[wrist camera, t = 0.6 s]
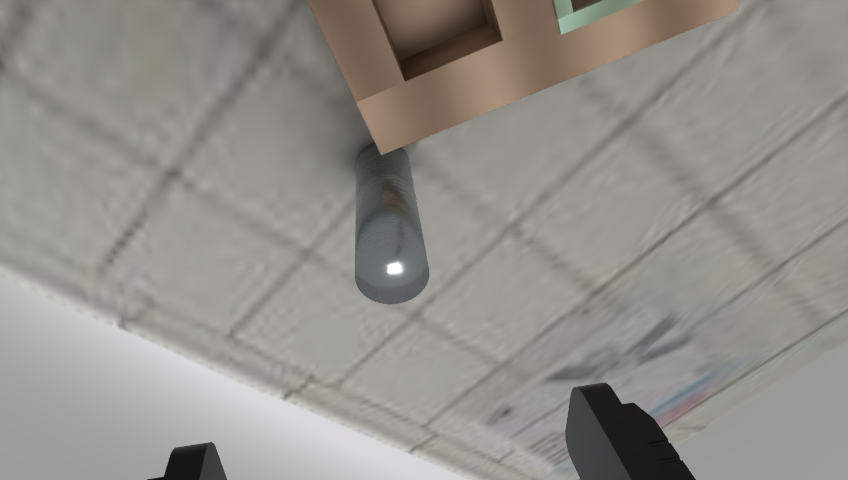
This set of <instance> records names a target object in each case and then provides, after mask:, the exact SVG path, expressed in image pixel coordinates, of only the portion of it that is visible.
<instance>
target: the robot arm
mask: <svg viewBox="0 0 848 480" xmlns="http://www.w3.org/2000/svg"><path fill="white" fill-rule="evenodd" d="M566 443H567V448H568V452H569V455H570V457H571V460H572V462H573V464H574V466H575V468H576V470H577V472H578V474H579V477H580V479H581V480H696V479H695V478H694V476H693V475H692V474H691V472H690V471H689V469H688V468H687V466H686V465H685V464H684V462H683V461H681V460H680V458H679V455H678V453H677V452H676V450H675V449H674V447H673V446H672V444H671V443H670V444H669V442H668V439H667V437H666V436H665V434H664V433H663V431H662V430H661V428H660V427H659V425H658V424H657V423H656V421H655V420H654V419H653V418H652V417H651V416H650V415H648V414H647V413H646V412H645V411H643V410H642V409H641V408H640V407H638V406H637V405H636V404H635V403H628V404H622V403H621V402H620V400H619V399H618V397H617V396H616V394H615V393H614V391H613V389H612V388H611V387H610V386H609V385H608V384H607V383H599V384H592V385H586V386H579V387H574V388H573V389H572V392H571V398H570V404H569V411H568V418H567V424H566ZM148 480H227V478H226V475H225V473H224V470H223V467H222V464H221V461H220V458H219V456H218V453H217V450H216V447H215V445H214V443H212V442H210V443H203V444H197V445H190V446H184V447H177V448H175V449H174V450H173V451H172V453H171V455H170V458H169V461H168V465H167V468H166V472H165V475H164V477H160V478H154V479H148Z"/></svg>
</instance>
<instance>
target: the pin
mask: <svg viewBox="0 0 848 480" xmlns="http://www.w3.org/2000/svg"><path fill="white" fill-rule="evenodd" d="M428 279H429V267H428V262H427V256H426V251H425V245H424V240H423V234H422V229H421V223H420V218H419V212H418V207H417V201H416V196H415V190H414V185H413V179H412V174H411V168H410V163H409V159H408V156H407V154H406V153H405V151H404V150H403V149H402V148H398V149H395V150H393V151H390V152H388V153H385V154H383V155H381V154H380V152H379V150H378V147H377V145H376V143H373V144H371V145H369V146H367V147H366V148H364V149H363V150H362V152H361V153H360V154H359V156H358V159H357V162H356V235H355V280H356V284H357V286H358V288H359V290H360V291H361V292H362V293H363V294H364V295H365V296H366V297H368V298H369V299H371V300H373V301H375V302H379V303H383V304H398V303H402V302H406V301H408V300H411V299H412V298H414V297H416V296H417V295H418V294H419V293H421V292H422V290H423V289H424V288H425V286H426V284H427V282H428Z"/></svg>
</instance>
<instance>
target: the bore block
mask: <svg viewBox="0 0 848 480" xmlns="http://www.w3.org/2000/svg"><path fill="white" fill-rule="evenodd" d="M307 2H308V4H309V6H310V8H311V10H312V12H313V14H314V16H315V19H316V21H317V23H318V25H319V27H320V29H321V31H322V33H323V35H324V37H325V39H326V41H327V43H328V46H329V48H330V50H331V52H332V54H333V56H334V58H335V60H336V62H337V64H338V66H339V68H340V71H341V73H342V75H343V77H344V79H345V81H346V83H347V85H348V87H349V89H350V91H351V93H352V95H353V98H354V100H355V102H356V104H357V106H358V108H359V110H360V112H361V114H362V116H363V118H364V120H365V122H366V125H367V127H368V129H369V131H370V133H371V135H372V137H373V139H374V141H375V143H376V145H377V147H378V150H379V152H380V154H381V155H383V154H385V153H388V152H390V151H393V150H395V149H398V148H400V147H403V146H405V145H408V144H410V143H413V142H415V141H418V140H420V139H422V138H425V137H427V136H430V135H432V134H435V133H437V132H440V131H442V130H445V129H447V128H450V127H452V126H454V125H457V124H459V123H462V122H464V121H467V120H469V119H472V118H474V117H477V116H479V115H482V114H484V113H486V112H489V111H491V110H494V109H496V108H499V107H501V106H504V105H506V104H509V103H511V102H514V101H516V100H519V99H521V98H523V97H526V96H528V95H531V94H533V93H536V92H538V91H541V90H543V89H546V88H548V87H551V86H553V85H555V84H558V83H560V82H563V81H565V80H568V79H570V78H573V77H575V76H578V75H580V74H583V73H585V72H588V71H590V70H592V69H595V68H597V67H600V66H602V65H605V64H607V63H610V62H612V61H615V60H617V59H620V58H622V57H624V56H627V55H629V54H632V53H634V52H637V51H639V50H642V49H644V48H647V47H649V46H652V45H654V44H656V43H659V42H661V41H664V40H666V39H669V38H671V37H674V36H676V35H679V34H681V33H684V32H686V31H689V30H691V29H693V28H696V27H698V26H701V25H703V24H706V23H708V22H711V21H713V20H716V19H718V18H721V17H723V16H725V15H728V14H730V13H733V12H735V11H738V0H307Z"/></svg>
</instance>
